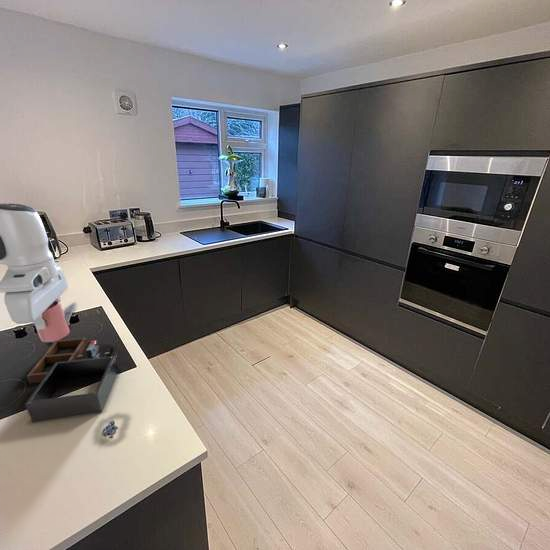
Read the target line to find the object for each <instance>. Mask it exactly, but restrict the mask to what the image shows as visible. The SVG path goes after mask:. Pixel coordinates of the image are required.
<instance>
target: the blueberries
mask: <svg viewBox="0 0 550 550" xmlns="http://www.w3.org/2000/svg"><path fill="white" fill-rule="evenodd" d="M118 429H119V427H118V426H117V425H115V421H114V420H111V421H110V422H108V423H107V424H106V426H105V427H104V428H102V435H103V437H108V436H109V437H108V439H113V438H114V435H115V434H116V433H117V430H118Z"/></svg>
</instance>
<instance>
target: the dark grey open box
mask: <svg viewBox="0 0 550 550" xmlns="http://www.w3.org/2000/svg"><path fill="white" fill-rule="evenodd" d="M47 372H48V374H47V375H46V376H45V378H44V379H43V381H42V382H39V384H38V386H37V387H36V388H35V390H34V392H32V394H31V395H30V397H29V398H28V400H27V401H26V402H25V407H26V410H27V413H28V415H29V418H30V420H31V423H38V422H44V421H52V420H59V419H66V418H72V417H73V418H74V417H78V416H85V415H93V414H100V413H103V411H104V409H105V406H106V404H107V401H108V399H109V396H110V394H111V392H112V389H113V387H114V384H115V381H116V379H117V377H118V374H119V368H118V363H117V358H116V355H110V356H109V357H99V358H90V359H81V360H72V361H63V362H56V363H54V364H53V365H52V367H51V368H50V369H49V371H47ZM98 376H102V377H101V379H100V381H99V383H98V385H97V388H96V390H95V392H89V393H82V394H76V395H68V396H67V395H66V396H60V397H59V396H58V397H53V396H54V395H55V393H56V391H57V390H58V388H59V387H60V385H61V384H62V382H63V381H65V380H74V379H83V378H92V377H98Z"/></svg>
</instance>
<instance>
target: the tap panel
mask: <svg viewBox="0 0 550 550" xmlns="http://www.w3.org/2000/svg"><path fill="white" fill-rule="evenodd" d="M113 347H114V346H113V344H111V343H110V344H100V345H98V349H99V350H98V352H97V353H96V355H95V357H94V358H99V357H109V356H112V353H113V350H114V348H113ZM87 348H88V346H86V347H85V349H84V350H83V352H82V354H81V355H80V356H77V357H79V358H78V360H81V359H88V356H87V352H86V350H87Z"/></svg>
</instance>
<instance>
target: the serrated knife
mask: <svg viewBox="0 0 550 550" xmlns="http://www.w3.org/2000/svg"><path fill="white" fill-rule="evenodd" d="M74 306H75V303H72V304H71V305H69V306H68V307H67V308H66V309H65V310H63V312H64V315H65V318H66V321H67V324H68V327H69V326H70V319H71V317H72V314H73V312H74V308H75V307H74ZM59 340H62V339H59ZM54 342H55V341H53V342H50V343H52V344H53V343H54Z"/></svg>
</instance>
